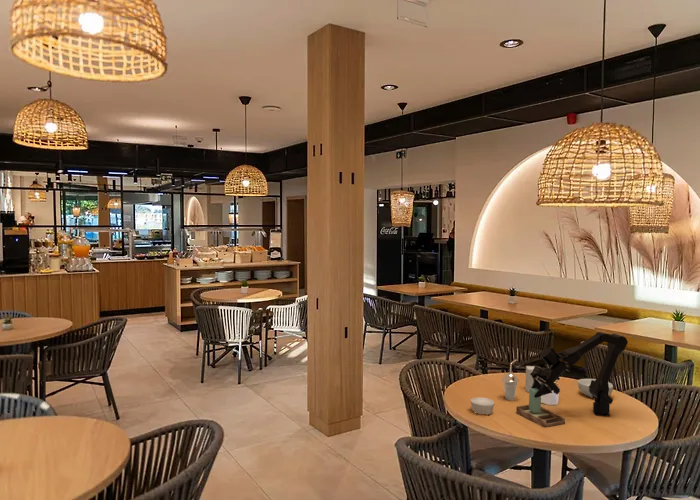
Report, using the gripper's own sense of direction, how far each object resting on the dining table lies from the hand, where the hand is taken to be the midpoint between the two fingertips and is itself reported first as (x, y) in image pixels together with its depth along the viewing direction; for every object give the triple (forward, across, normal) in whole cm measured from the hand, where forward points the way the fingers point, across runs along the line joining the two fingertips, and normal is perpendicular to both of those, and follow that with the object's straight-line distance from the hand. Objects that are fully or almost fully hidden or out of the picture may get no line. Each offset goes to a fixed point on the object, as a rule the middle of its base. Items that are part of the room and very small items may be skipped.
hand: (532, 395), depth 245 cm
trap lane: (+5, +4, +8) cm, 11 cm away
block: (+4, 0, +6) cm, 8 cm away
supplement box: (-6, -34, +20) cm, 40 cm away
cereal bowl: (-26, -23, +41) cm, 54 cm away
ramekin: (+22, -8, -8) cm, 25 cm away
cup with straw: (+7, -23, +7) cm, 25 cm away
